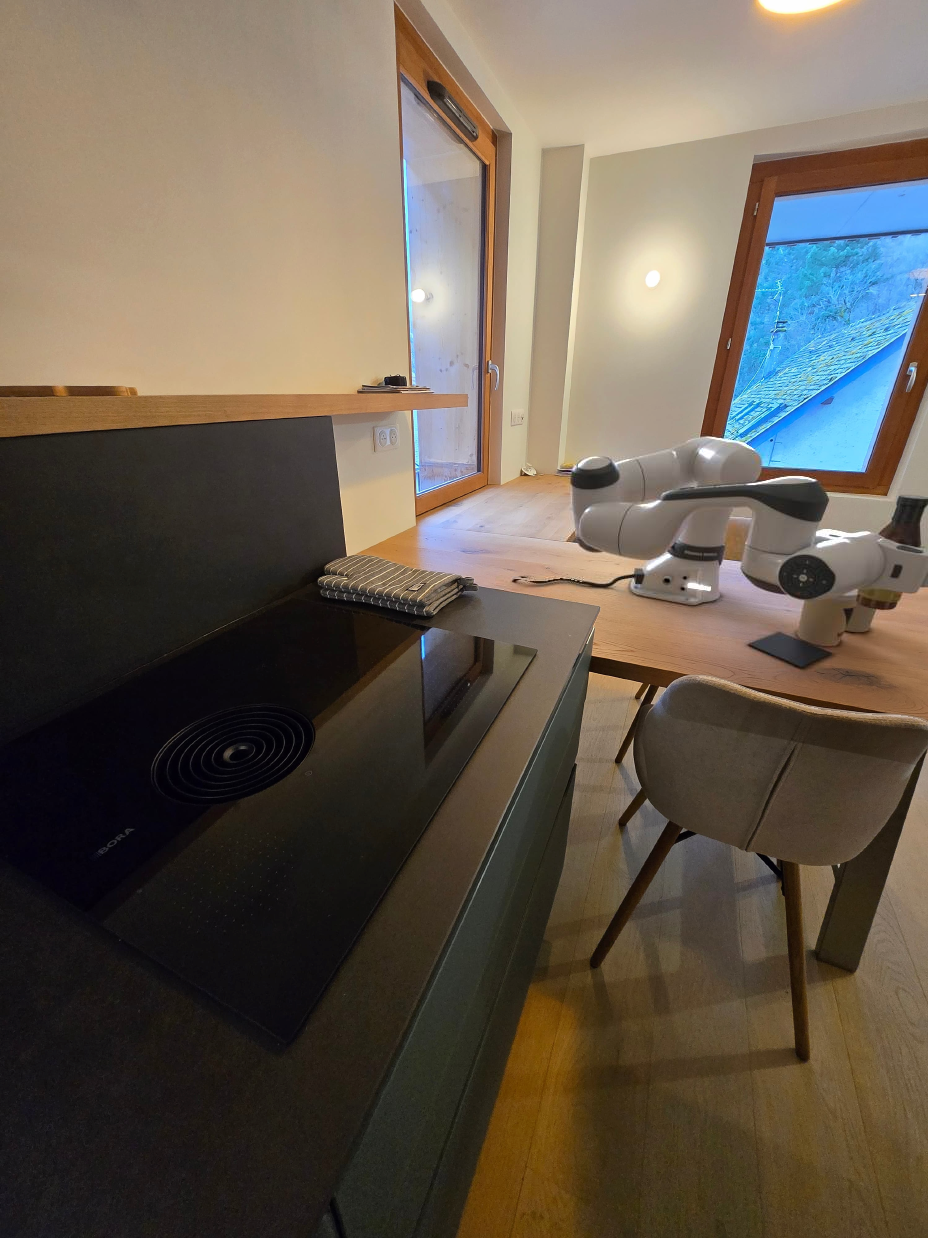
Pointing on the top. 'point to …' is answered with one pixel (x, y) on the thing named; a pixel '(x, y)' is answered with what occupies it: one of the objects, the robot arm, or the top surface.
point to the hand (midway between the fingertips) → (898, 546)
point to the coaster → (790, 649)
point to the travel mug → (860, 619)
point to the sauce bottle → (901, 532)
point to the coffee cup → (826, 619)
